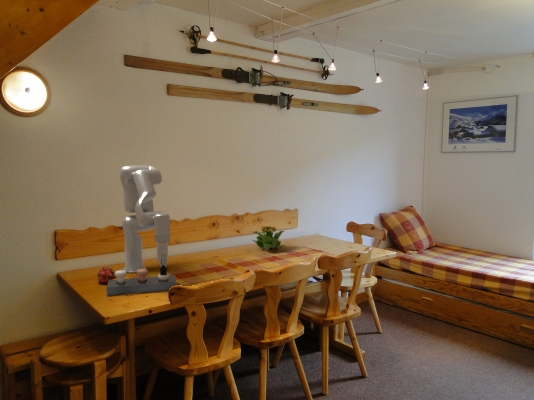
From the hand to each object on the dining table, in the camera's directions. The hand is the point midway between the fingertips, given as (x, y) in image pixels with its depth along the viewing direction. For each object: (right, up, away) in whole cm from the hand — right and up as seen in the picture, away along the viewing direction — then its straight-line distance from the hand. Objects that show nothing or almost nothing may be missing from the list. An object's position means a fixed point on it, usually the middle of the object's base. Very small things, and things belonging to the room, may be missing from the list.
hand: (163, 274), depth 205 cm
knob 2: (0, -6, +1) cm, 7 cm away
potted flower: (+54, +2, +80) cm, 97 cm away
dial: (-10, -4, -2) cm, 11 cm away
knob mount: (-10, -7, -2) cm, 12 cm away
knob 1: (-19, -4, -5) cm, 20 cm away
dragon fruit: (-32, -6, +9) cm, 33 cm away
